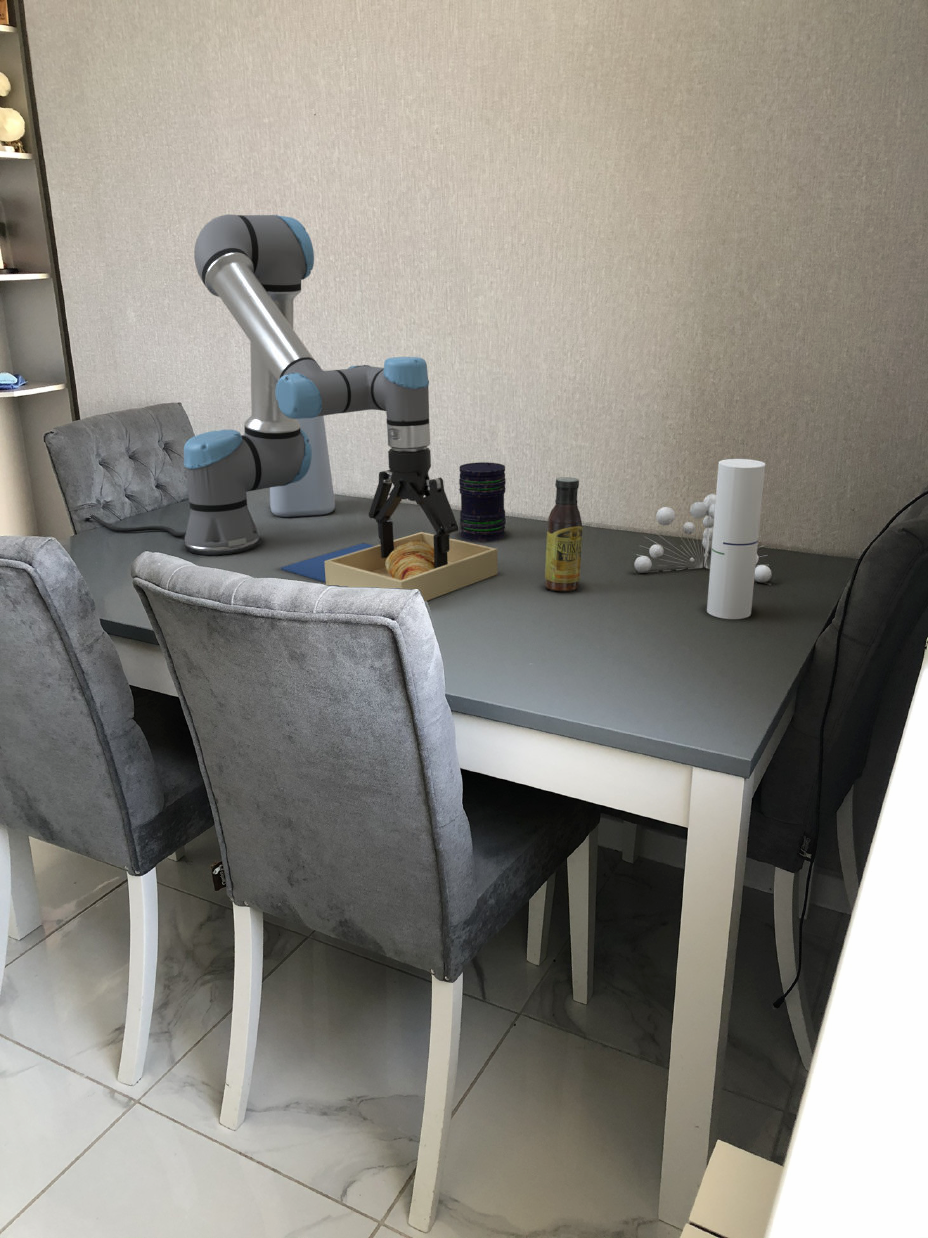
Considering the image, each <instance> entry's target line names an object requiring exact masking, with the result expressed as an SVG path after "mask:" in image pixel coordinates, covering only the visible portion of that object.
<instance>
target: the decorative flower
mask: <svg viewBox="0 0 928 1238" xmlns="http://www.w3.org/2000/svg"><path fill="white" fill-rule="evenodd" d="M688 501H691V500H690V498H689V500H688ZM715 502H716V493H709V494H707V495H706V496H705V497H704V499H703V501H695V502H694V503H692V504H691V503H689V504H690V505H689V506H690V509H689V513H690V516H692V518H693V519H692V520H693V522H691V521H687V518H686V514H685V513H684V512H685V511H684V510H682V512H683V515H684V519H685V521H686V522H685V523H683V525H682V524H681V522H680V520H679V519H678V517H676V513H675V511H674V509H673V508H672V507H670V506H669V507H668V506H662V507H661V508H659V509H658V510H657V511H656V515H655V518H656V522H657V523H658V524H659V525H660V526H670V525H671V526H672V527H673V529H674V530H675V532H676V533H677V535H678V537H680V539H681V540H682V542H683V543H684V544H685V546H686V547H687V549H688V550H689V551H690V553H691V554H692V555H691V554H690V553H689V552H688V551H686V549H685V548H684V547H683V546H681V548H682V549H683V550H684V551H685V552H686V553H687V554H688V555H689V556H690V557H689V556H688V555H686V557H687V558H689V562H688V561H685V560H687V558H686V557H684V556H682V555H679V554H678V553H676V556H677V555H678V556H679V557H681V558H682V559H679V558H676V557H674V556H671V555H669V557H671V558H673V559H676V560H679V561H682V562H685V565H686V566H688V564H689V565H690V567H689V570H692V569H703V568H705V569H707V570H710V564H711V552H712V539H713V527H714V514H715ZM680 507H681V508H683V507H682V502H680ZM675 518H676V519H677V521H678V523H679V526H681V529H682V531H683V533H684V535H685V536H686V539H687V541H688V543H689V545H690V546H691V549H692V551H693V552H692V551H691V550H690V548H689V547H688V545H687V544H686V542H685V541H684V540H683V538H682V537H681V535H680V534H679V533H678V530H676V528H675V527H674V526H673V525H672V524H673V522H674V521H675V520H676V519H675ZM702 518H703V520H702V525H703V527H704V531H703V533H702V529H701V528H702V527H700V528H699V530H700V535H703V538H702V539H701V546H700V547H701V548H699V545H697V546H698V548H697V547H696V544H695V540H694V538H693V535H692V534H693V533H694V532H695V533H697V531H696V525H695V523H694V521H695V519H697V520H698V519H699V520H701V519H702ZM650 530H651V531H653V529H652V528H650ZM654 534H657V532H656V531H654ZM687 535H691V539H692V542H693V545H694V548H695V550H696V552H695V550H694V548H693V546H692V544H691V542H690V541H689V538H688V536H687ZM658 536H659V537H661V535H660V534H658ZM643 537H644V538H646V536H643ZM695 537H696V538H698V536H697V535H696V536H695ZM759 538H760V536H758V539H759ZM662 539H663V540H665V538H664V537H662ZM648 540H650V541H651V542H653V543H655V544H652V545H651V546H650V547H649V548H648V547H646V546H642V545H639V547H642V548H646V549H648V550H649V551H648V552H649V553H648V554H649V555H650V556H646V555H641V554H639V556H638V554H635V555H636V556H638V557H637V558H636V559H635V561H634V563H633V565H634V569H635V570H636V571H637V573H639V574H645V573H649V572H650V570H651V569H652V566H653V564H652V563H653V562H652V560H651V559H656V560H658V559H659V560H660V561H663V559H661V558H662V556H663V555H664V556H667V554H666V553H665V552H664V551H665V550H664V548H665V549H667V550H669V551H671V552H672V553H674V551H672V550H670V549H669V548H667V547H665V546H663V545H662V544H659V543H657V542H656V541H654V540H651V539H650V538H648ZM666 542H667V543H669V541H668V540H666ZM696 543H699V541H698V540H696ZM670 545H671V546H673V544H672V543H670ZM764 546H766V544H764V545H761V546H760V548H762V547H764ZM702 547H703V550H702ZM674 548H675V549H677V547H676V546H674ZM697 549H700V550H701V551H700V550H697ZM678 551H680V552H681V550H679V549H678ZM702 551H703V552H702ZM693 553H694V554H696V555H697V558H696V555H694V554H693ZM701 553H702V555H703V558H704V559H703V561H701V559H702V556H700V555H699V554H701ZM709 553H710V554H709ZM682 554H683V555H685V553H684V552H682ZM766 556H767V554H766V555H764V557H766ZM761 557H763V555H761V556H759V555H758V554H757V556H756V566H755V577H754V582H758V583H761V584H762V583H764V584H767V585H772V583H768V581H770V579H772V570H771V569H770V567H769V566H768V565H766V564H759V565H758V564H757V563H758V562H759V559H760V558H761ZM650 558H651V559H650ZM683 559H685V560H683ZM664 561H666V562H668V560H667V559H664ZM699 561H700V562H699ZM670 562H672V563H673V561H672V560H670ZM682 562H680V564H682V565H683V563H682ZM675 563H676V564H678V562H677V561H675ZM687 563H688V564H687ZM658 566H661V567H663V566H664V567H666V565H663V564H662V565H661V564H658ZM693 566H695V567H693ZM677 567H678V568H680V569H677V571H680V570H681V571H682V568H684V566H680V565H679V566H678V565H677ZM681 567H682V568H681ZM668 571H670V569H669V570H668V569H667V570H665V569H664V572H668ZM655 572H658V570H654V571H652V573H655Z"/></svg>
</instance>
